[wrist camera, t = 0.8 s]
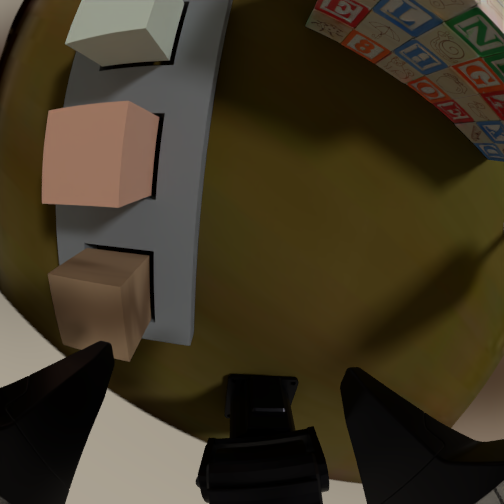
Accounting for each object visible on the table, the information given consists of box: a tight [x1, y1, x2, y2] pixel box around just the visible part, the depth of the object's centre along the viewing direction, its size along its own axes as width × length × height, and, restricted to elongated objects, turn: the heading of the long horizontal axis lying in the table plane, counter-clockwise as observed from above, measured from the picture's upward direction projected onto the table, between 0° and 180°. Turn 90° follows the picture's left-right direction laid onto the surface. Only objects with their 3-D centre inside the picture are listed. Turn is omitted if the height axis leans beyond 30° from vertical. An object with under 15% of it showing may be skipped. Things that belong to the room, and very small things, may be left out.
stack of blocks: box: [305, 0, 504, 162], centre depth 10 cm, size 21×6×12 cm, turn 67°
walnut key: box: [48, 248, 151, 362], centre depth 16 cm, size 5×5×5 cm
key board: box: [56, 0, 233, 346], centre depth 16 cm, size 27×11×2 cm, turn 173°
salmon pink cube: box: [42, 101, 159, 208], centre depth 13 cm, size 5×5×5 cm
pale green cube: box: [65, 0, 184, 67], centre depth 10 cm, size 5×5×5 cm
